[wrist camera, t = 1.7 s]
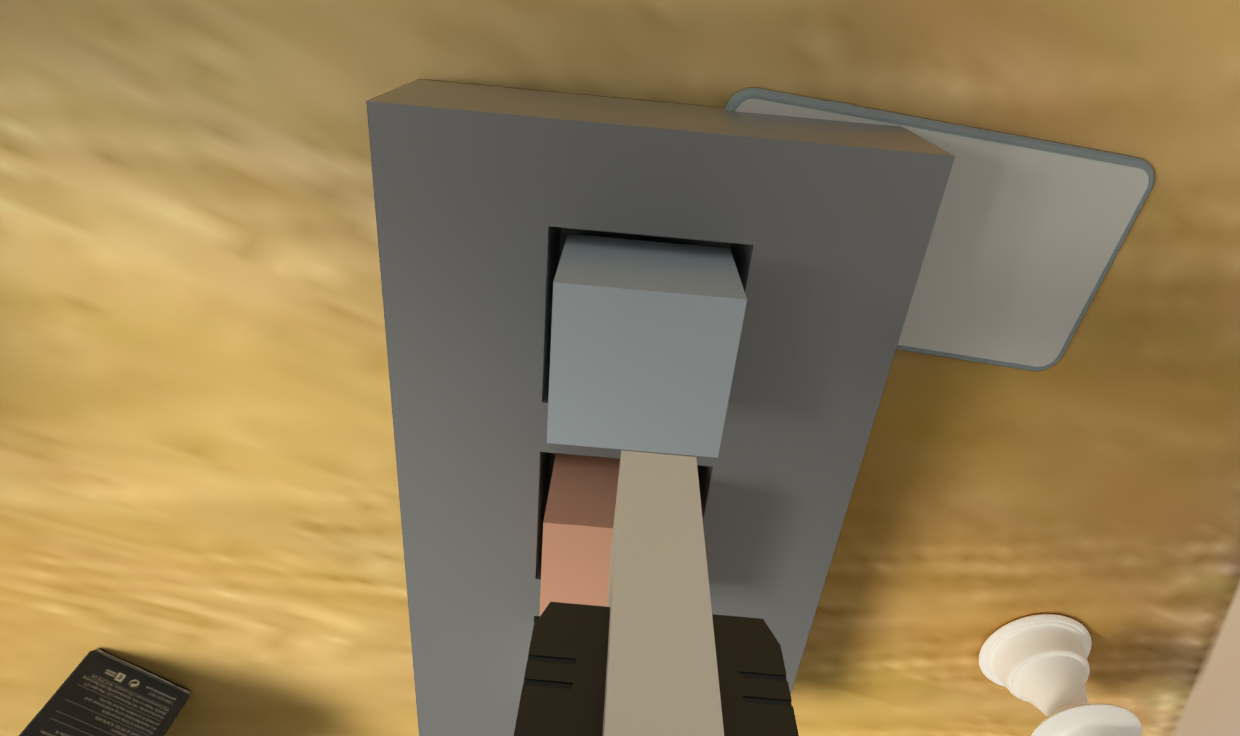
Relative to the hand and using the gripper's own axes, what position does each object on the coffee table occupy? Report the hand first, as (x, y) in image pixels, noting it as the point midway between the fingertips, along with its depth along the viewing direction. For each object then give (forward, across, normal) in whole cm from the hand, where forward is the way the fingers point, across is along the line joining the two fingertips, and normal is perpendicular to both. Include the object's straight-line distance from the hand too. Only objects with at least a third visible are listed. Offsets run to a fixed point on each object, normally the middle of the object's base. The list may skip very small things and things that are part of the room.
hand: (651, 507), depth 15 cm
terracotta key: (+10, 0, -8) cm, 12 cm away
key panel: (+14, 0, -8) cm, 16 cm away
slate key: (+9, 0, 0) cm, 10 cm away
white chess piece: (+14, +21, -18) cm, 31 cm away
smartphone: (+14, +9, +2) cm, 17 cm away
